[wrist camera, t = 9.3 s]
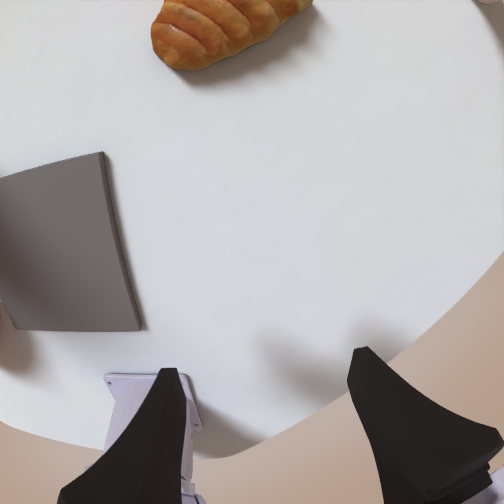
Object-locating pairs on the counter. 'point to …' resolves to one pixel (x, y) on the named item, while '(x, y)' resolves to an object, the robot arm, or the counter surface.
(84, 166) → the mat
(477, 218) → the counter surface
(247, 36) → the pastry
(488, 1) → the beer glass
